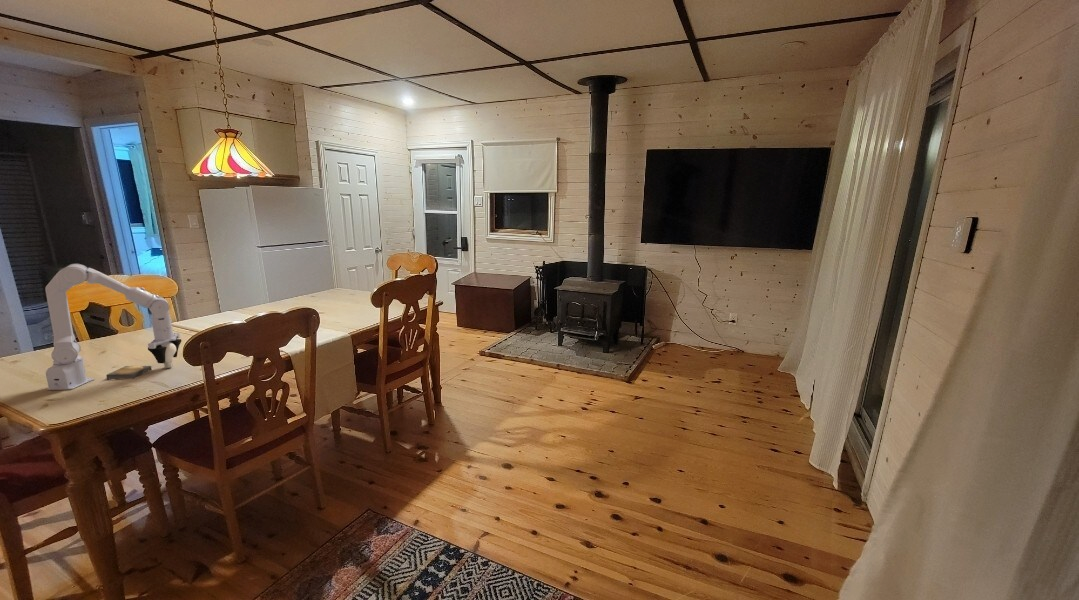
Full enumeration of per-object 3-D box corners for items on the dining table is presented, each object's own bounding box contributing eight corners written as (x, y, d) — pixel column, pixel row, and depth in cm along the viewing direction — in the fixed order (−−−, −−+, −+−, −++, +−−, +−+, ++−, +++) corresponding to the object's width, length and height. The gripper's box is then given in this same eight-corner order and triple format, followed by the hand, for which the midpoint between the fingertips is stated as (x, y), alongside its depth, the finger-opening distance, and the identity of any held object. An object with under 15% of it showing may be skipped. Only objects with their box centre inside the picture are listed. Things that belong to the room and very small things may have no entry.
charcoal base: (133, 378, 162) (132, 373, 161) (107, 379, 160) (106, 374, 160) (151, 370, 170) (150, 365, 170) (126, 370, 169) (125, 365, 169)
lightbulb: (181, 367, 174) (177, 341, 172) (161, 372, 169) (157, 345, 166) (175, 364, 177) (172, 338, 175) (156, 368, 172) (152, 342, 170)
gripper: (160, 333, 163) (165, 366, 166) (185, 323, 177) (190, 353, 180) (139, 333, 162) (145, 366, 165) (167, 323, 176) (171, 354, 179)
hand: (167, 360), depth 172 cm, fingers open, 6 cm apart
